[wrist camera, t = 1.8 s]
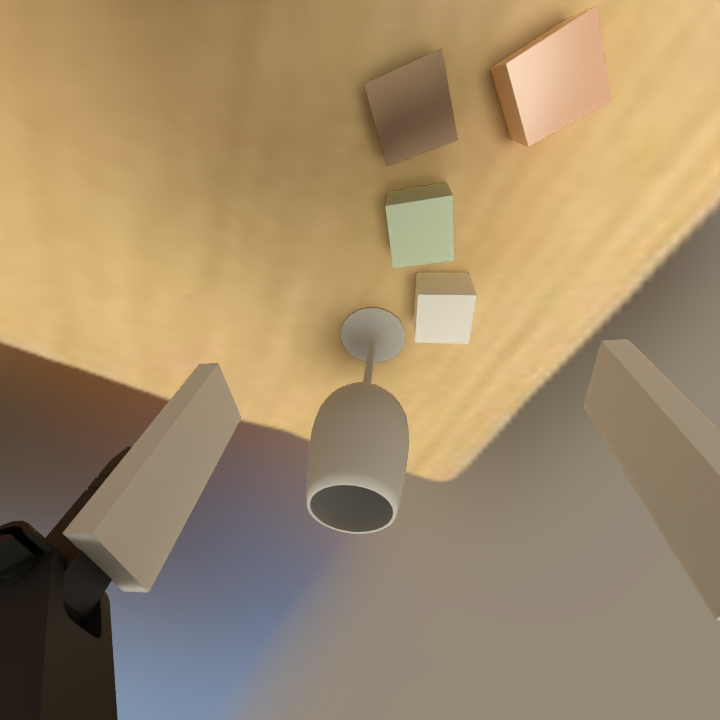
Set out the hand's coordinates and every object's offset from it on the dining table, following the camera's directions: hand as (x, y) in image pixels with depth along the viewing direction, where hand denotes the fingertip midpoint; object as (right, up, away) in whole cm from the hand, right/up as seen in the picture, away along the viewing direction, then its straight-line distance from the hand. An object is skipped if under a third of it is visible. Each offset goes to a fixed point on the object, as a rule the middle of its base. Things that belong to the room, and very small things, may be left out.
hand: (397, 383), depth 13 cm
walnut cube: (+3, +20, +15) cm, 25 cm away
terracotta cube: (+11, +21, +13) cm, 27 cm away
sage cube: (+4, +14, +19) cm, 24 cm away
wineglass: (0, +4, +27) cm, 28 cm away
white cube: (+7, +7, +24) cm, 26 cm away
